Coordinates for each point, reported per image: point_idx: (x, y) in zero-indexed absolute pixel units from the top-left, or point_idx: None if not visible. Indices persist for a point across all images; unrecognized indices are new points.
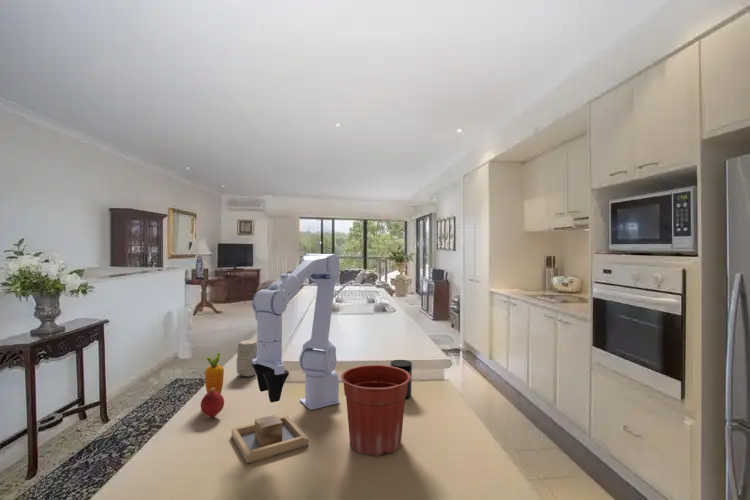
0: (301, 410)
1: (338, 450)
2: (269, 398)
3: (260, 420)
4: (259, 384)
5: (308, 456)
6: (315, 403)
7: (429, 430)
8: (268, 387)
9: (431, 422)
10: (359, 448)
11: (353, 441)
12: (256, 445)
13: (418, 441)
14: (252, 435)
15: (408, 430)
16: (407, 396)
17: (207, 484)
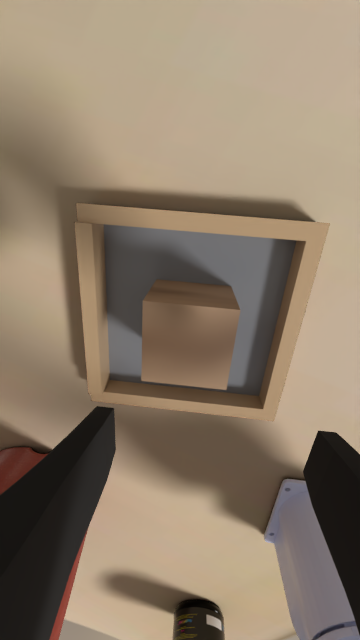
0: None
1: (44, 423)
2: (93, 421)
3: (213, 324)
4: (352, 476)
5: (49, 363)
6: (293, 505)
7: None
8: (5, 504)
9: None
10: (1, 455)
11: (13, 463)
12: (179, 272)
13: None
14: (254, 286)
15: None
16: (174, 617)
17: (22, 18)
